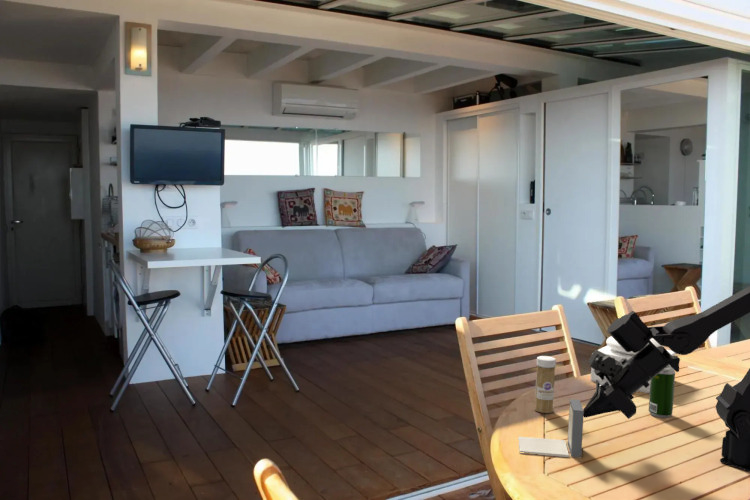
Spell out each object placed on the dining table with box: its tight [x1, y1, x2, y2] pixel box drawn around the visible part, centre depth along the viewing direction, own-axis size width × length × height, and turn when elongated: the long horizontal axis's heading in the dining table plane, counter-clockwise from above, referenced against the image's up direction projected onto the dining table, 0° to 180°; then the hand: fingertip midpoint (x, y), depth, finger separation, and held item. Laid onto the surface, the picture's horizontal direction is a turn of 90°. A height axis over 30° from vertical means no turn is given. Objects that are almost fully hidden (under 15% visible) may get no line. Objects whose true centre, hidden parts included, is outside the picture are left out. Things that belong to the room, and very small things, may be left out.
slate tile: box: [567, 398, 584, 458], centre depth 143 cm, size 2×7×10 cm, turn 170°
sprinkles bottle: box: [534, 355, 557, 414], centre depth 167 cm, size 5×5×14 cm
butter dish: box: [590, 335, 677, 395], centre depth 193 cm, size 18×18×16 cm
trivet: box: [517, 436, 570, 458], centre depth 145 cm, size 10×8×1 cm
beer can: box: [648, 366, 676, 419], centre depth 166 cm, size 5×5×12 cm
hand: (582, 415), depth 143 cm, fingers closed
